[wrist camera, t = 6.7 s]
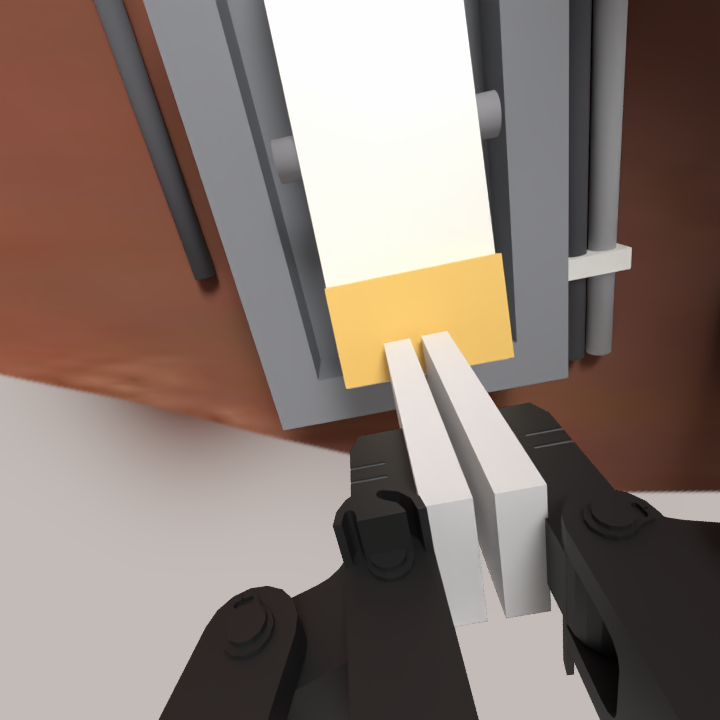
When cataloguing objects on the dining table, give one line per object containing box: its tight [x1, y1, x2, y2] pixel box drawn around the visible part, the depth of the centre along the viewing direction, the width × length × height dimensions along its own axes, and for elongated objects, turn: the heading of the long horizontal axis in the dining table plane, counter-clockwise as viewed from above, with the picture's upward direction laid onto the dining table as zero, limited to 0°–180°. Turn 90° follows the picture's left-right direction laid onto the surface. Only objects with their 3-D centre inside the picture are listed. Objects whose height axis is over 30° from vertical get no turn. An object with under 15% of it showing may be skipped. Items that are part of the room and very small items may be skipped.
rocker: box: [264, 0, 514, 389], centre depth 12 cm, size 14×6×2 cm, turn 11°
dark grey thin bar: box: [94, 0, 216, 280], centre depth 18 cm, size 14×1×1 cm, turn 11°
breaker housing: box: [143, 0, 569, 430], centre depth 17 cm, size 20×12×6 cm, turn 11°
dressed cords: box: [568, 0, 632, 360], centre depth 18 cm, size 24×3×2 cm, turn 11°
